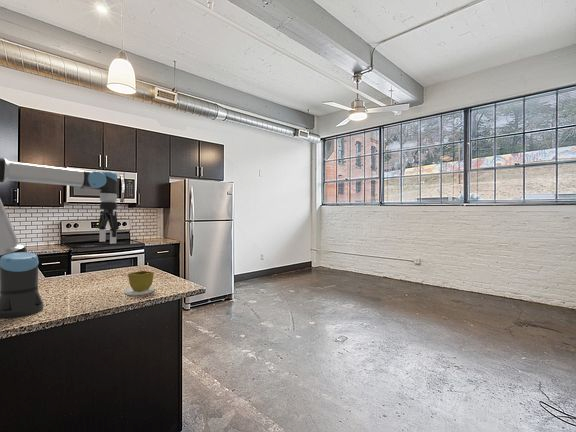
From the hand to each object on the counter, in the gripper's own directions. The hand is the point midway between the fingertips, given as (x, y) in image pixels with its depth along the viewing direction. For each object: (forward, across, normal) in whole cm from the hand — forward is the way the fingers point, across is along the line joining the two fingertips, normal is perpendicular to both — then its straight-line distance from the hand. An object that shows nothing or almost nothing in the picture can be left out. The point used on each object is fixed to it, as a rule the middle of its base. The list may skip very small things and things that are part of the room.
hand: (107, 242), depth 160 cm
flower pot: (+24, -18, -9) cm, 31 cm away
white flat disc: (+25, -16, -10) cm, 31 cm away
